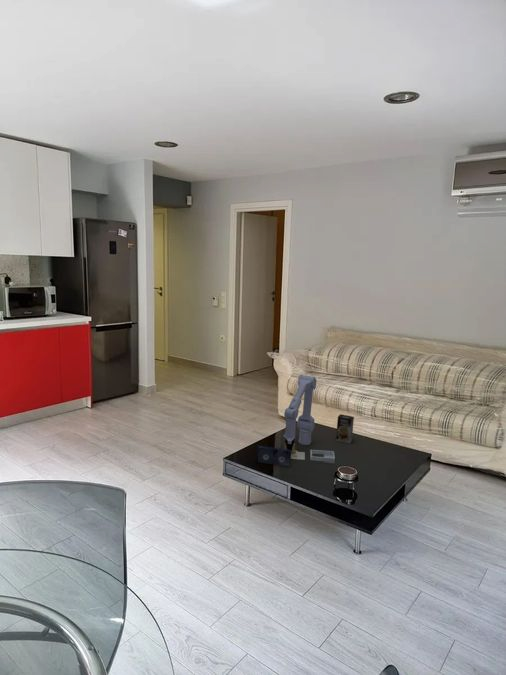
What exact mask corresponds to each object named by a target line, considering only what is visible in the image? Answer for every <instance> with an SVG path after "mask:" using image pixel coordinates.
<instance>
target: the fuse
mask: <svg viewBox="0 0 506 675" xmlns="http://www.w3.org/2000/svg"><path fill="white" fill-rule="evenodd" d="M283 446H284V448H283V449H287V446H286V443H285V442H284V445H283ZM295 450H296V442H295V443H294V445H293V447H292V451H291V454H295Z"/></svg>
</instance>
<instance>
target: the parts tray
mask: <svg viewBox="0 0 506 675" xmlns="http://www.w3.org/2000/svg"><path fill="white" fill-rule="evenodd" d="M309 451H310V452H309V453H310V457H309V458H310V461H318V462H323V463H324V464H333V465H334V464H336V463H335V460H336V457H335V451H334V450H331V451H330V450H323V449H322V450H319V449H310V450H309ZM315 454H316V455H323V456H315Z"/></svg>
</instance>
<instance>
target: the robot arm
mask: <svg viewBox="0 0 506 675" xmlns="http://www.w3.org/2000/svg"><path fill="white" fill-rule="evenodd" d="M297 384H298V388H297V390H296V393H295V395H294V397H292V398H291V401H290V403H289V405H288V407H287V408H286V409H284V415H283V416H284V421H285V430H284V432H285V433H284V434H283V435H282V437H283V438H284V439H285V440H284V444H285V443H286V446H287V450H291V451H292V447H293V445H294V443H295V444H296V442H295V439H296V428H297V429H298V431H299V434H298V435H299V436H298V443H299V444H301V445H303V446H305V445H306V446H307V445H310V444H311V443H312V432H313V431H314V429H315V426H316V425H315V418H314V417H313V416H312V415H311V413H312V405H313V404H312V403H313V393H314V391H315V390H316V387H317V378H316V376H309V375H305V374H300V375H299V376H298V378H297ZM303 397H304V398H303ZM302 398H303V406H302V407H303V408H302V414H301V415H299V410H300V407H301V404H302ZM296 421H297V422H296Z"/></svg>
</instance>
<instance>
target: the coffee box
mask: <svg viewBox="0 0 506 675" xmlns="http://www.w3.org/2000/svg"><path fill="white" fill-rule="evenodd" d="M354 421H355V417H354V416H351V415H347V414H341V413H340V414H339V415H338V416H337V421H336V422H337V423H336V433H335V434H336V435H335V436H336V438H335V441H336V442H341V443H344V444H350V443H352V441H353V432H354Z"/></svg>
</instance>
